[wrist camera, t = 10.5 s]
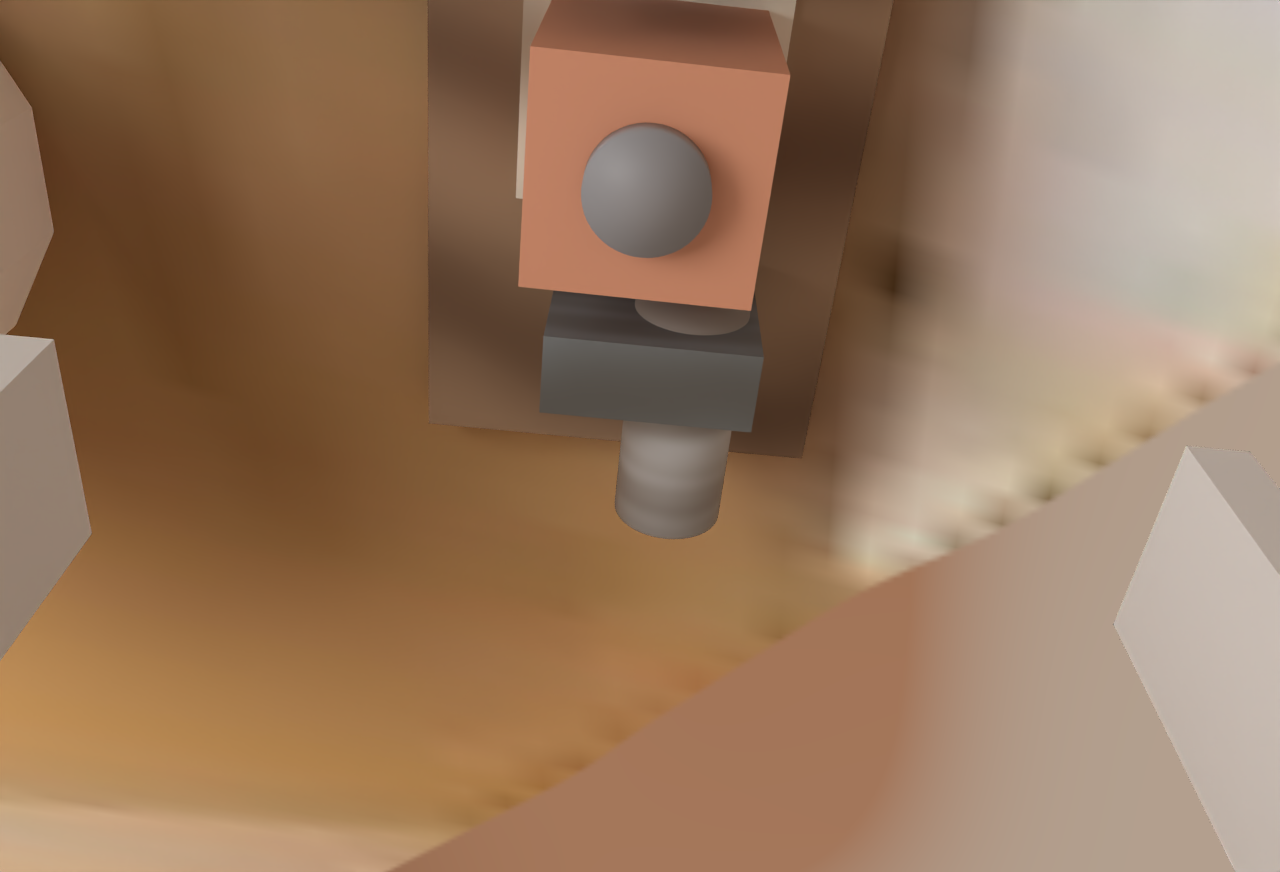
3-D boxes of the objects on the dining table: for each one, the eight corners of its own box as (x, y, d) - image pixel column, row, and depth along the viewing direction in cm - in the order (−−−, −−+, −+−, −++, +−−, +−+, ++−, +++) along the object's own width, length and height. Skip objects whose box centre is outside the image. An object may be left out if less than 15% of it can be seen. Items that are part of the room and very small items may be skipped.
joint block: (545, 191, 30) (514, 298, 24) (557, -14, 27) (526, 53, 21) (737, 211, 30) (752, 323, 24) (769, 10, 27) (793, 83, 21)
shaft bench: (437, -418, 24) (363, -466, 18) (953, -359, 24) (1039, -388, 19) (436, 402, 35) (388, 535, 29) (798, 436, 35) (821, 574, 29)
